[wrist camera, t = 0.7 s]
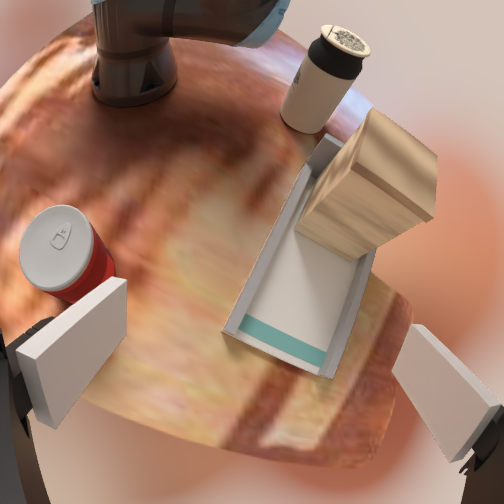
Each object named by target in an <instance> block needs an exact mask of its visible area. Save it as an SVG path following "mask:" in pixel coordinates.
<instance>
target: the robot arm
mask: <svg viewBox="0 0 504 504" xmlns="http://www.w3.org/2000/svg"><path fill="white" fill-rule="evenodd" d="M289 3H290V0H91V4H92V7H93V20H94V29H95V38H96V45H97V56H96V60H95V64H94V68H93V73H92V78H91V82H92V88H93V92H94V95H95V96H96V98H97V99H98V100H99V101H101V102H103V103H105V104H107V105H110V106H116V107H132V106H138V105H143V104H146V103H149V102H152V101H154V100H156V99H158V98H160V97H162V96H163V95H165V94H166V93H167V92H168V91H169V90H170V89H171V88H172V87H173V86H174V84H175V82H176V79H177V62H176V59H175V56H174V54H173V51H172V48H171V45H170V42H169V37H173V38H183V39H191V40H199V41H206V42H213V43H219V44H225V45H230V46H232V47H233V46H234V47H237V46H241V47H247V48H259V47H262V46H263V45H265V44H266V43H267V42H268V41H269V40H270V39H271V38H272V37H273V35H274V34H275V32H276V31H277V29H278V27H279V25H280V24H281V22H282V20H283V18H284V13H285V11H286V10H287V8H288V6H289ZM126 308H127V280H126V279H121V278H117V277H113V276H112V277H110V278H109V279H108V280H106V281H105V282H103V283H102V284H101V285H99V286H98V287H96V288H95V289H94V290H92V291H91V292H90V293H88V294H87V295H85V296H84V297H83V298H81V299H80V300H79V301H77V302H76V303H75V304H73V305H72V306H71V307H69V308H68V309H67V310H65V311H64V312H63V313H61V314H60V315H59V316H57V317H56V318H55V317H49V318H46V319H43V320H41V321H39V322H38V323H37V324H35V325H34V326H33V327H32V329H31V328H30V329H29V330H27V331H26V332H25V334H24V333H23V334H22V335H21V336H19V337H18V338H17V339H15V340H14V341H13V342H12V343H10V344H9V345H8V346H7V347H5V344H4V340H3V335H2V331H1V328H0V504H51V503H50V501H49V497H48V494H47V491H46V488H45V485H44V482H43V479H42V475H41V471H40V468H39V464H38V460H37V456H36V452H35V448H34V443H33V438H32V433H31V427H30V422H29V419H28V416H27V414H28V412H29V411H30V410H31V409H32V408H33V410H34V413H35V416H36V418H37V420H38V421H40V422H42V423H44V424H45V425H48V426H50V427H52V428H54V429H57V428H58V426H59V425H60V423H61V422H62V420H63V419H64V417H65V416H66V415H67V413H68V412H69V411H70V409H71V408H72V406H73V405H74V404H75V402H76V401H77V399H78V398H79V397H80V395H81V394H82V393H83V391H84V390H85V389H86V387H87V386H88V384H89V383H90V382H91V380H92V379H93V378H94V376H95V375H96V374H97V372H98V371H99V370H100V368H101V367H102V366H103V364H104V363H105V362H106V360H107V359H108V358H109V357H110V355H111V354H112V353H113V351H114V350H115V349H116V347H117V346H118V345H119V344H120V342H121V341H122V340H123V338H124V337H125V336H126V335H127V332H126ZM392 373H393V374H394V376H395V377H396V379H397V380H398V382H399V383H400V385H401V387H402V388H403V389H404V391H405V393H406V394H407V395H408V397H409V399H410V400H411V402H412V403H413V405H414V406H415V408H416V410H417V411H418V413H419V414H420V416H421V418H422V419H423V421H424V422H425V424H426V425H427V427H428V429H429V430H430V432H431V433H432V435H433V437H434V438H435V440H436V442H437V443H438V445H439V447H440V448H441V450H442V452H443V453H444V455H445V456H446V458H447V460H448V462H449V463H451V462H454V461H458V460H461V459H463V458H464V457H465V455H466V454H467V453H468V452H469V450H470V449H471V448H472V449H473V450H474V452H475V453H474V454H473V455H472V456H471V457H470V459H469V460H468V461H467V462H466V463H465V465H464V466H463V467H462V468H461V469H460V471H459V473H462V472H463V470H464V469H466V468H468V470H467V471H466V472H465V473H464V475H467V478H466V483H465V487H464V492H463V496H462V501H461V504H504V407H503V406H502V403H501V402H500V401H499V400H498V399H497V398H496V397H495V396H494V395H493V394H492V393H491V392H490V391H489V390H488V388H487V387H486V386H485V385H484V384H483V383H482V382H481V381H480V380H479V379H478V378H477V377H476V376H475V375H474V374H473V373H472V372H471V371H470V370H469V369H468V368H467V367H466V366H465V365H464V364H463V363H462V362H461V361H460V360H459V359H458V358H457V357H456V356H455V355H454V354H452V352H451V351H450V350H449V349H447V348H446V346H445V345H443V344H442V343H441V342H440V341H439V340H438V339H437V338H436V337H435V336H434V335H433V334H432V333H431V332H430V331H429V330H428V329H426V328H425V327H424V326H423V325H418V324H411V325H410V327H409V330H408V332H407V335H406V338H405V340H404V343H403V345H402V348H401V350H400V352H399V355H398V357H397V360H396V362H395V364H394V366H393V369H392Z"/></svg>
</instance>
